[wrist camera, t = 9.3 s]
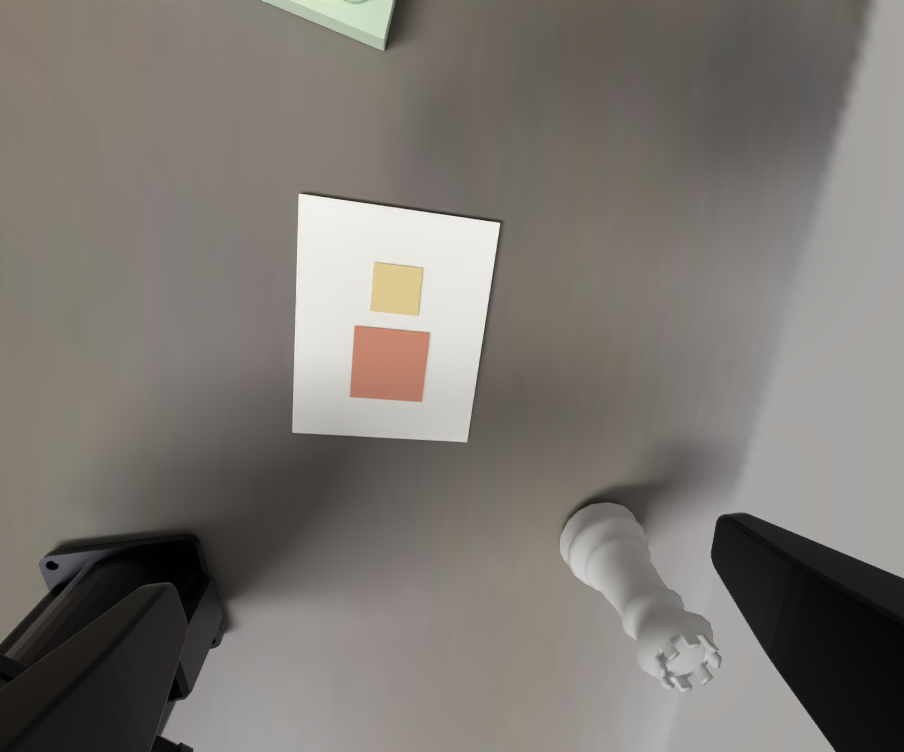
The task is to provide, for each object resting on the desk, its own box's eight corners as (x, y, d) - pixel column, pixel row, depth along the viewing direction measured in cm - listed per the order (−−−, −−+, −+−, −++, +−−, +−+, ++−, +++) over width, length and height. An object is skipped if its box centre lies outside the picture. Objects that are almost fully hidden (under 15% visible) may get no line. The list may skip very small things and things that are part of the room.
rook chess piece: (610, 481, 23) (718, 600, 16) (646, 535, 25) (761, 667, 17) (540, 530, 24) (614, 668, 16) (581, 580, 25) (665, 729, 18)
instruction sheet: (466, 440, 21) (467, 442, 21) (293, 431, 20) (291, 433, 20) (499, 223, 18) (500, 223, 18) (299, 194, 17) (298, 193, 17)
